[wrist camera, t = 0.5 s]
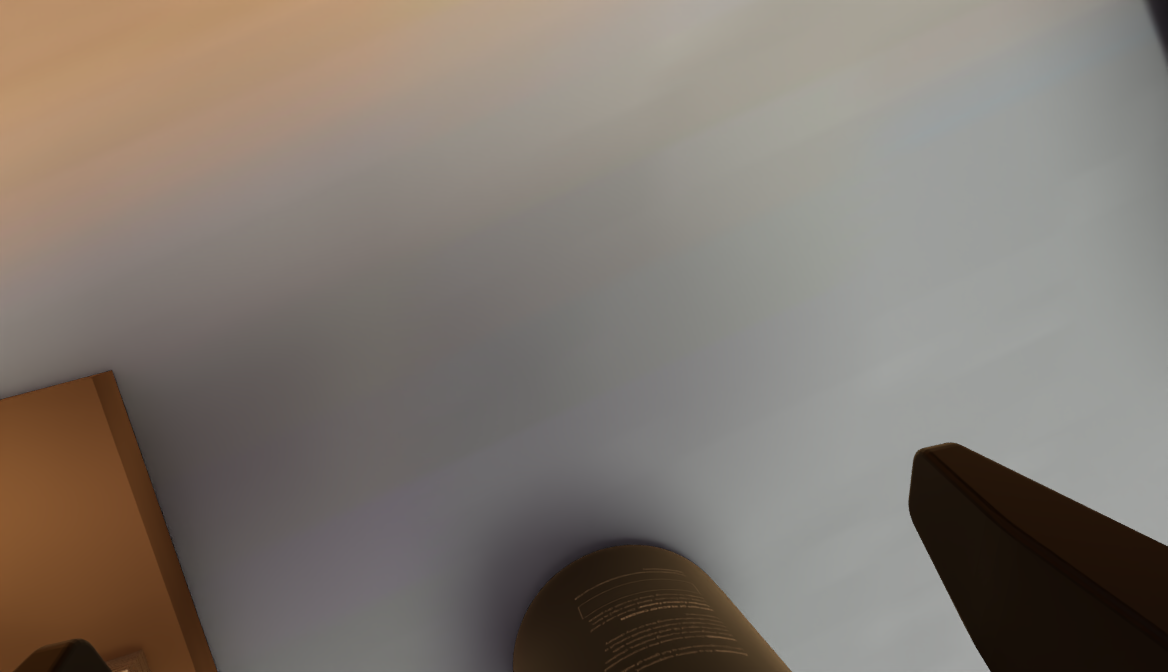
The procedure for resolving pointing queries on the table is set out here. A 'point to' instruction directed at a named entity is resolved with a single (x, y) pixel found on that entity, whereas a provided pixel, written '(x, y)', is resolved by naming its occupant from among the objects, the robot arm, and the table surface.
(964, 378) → the table surface
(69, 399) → the board
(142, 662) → the fixed leaf
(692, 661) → the supplement bottle
